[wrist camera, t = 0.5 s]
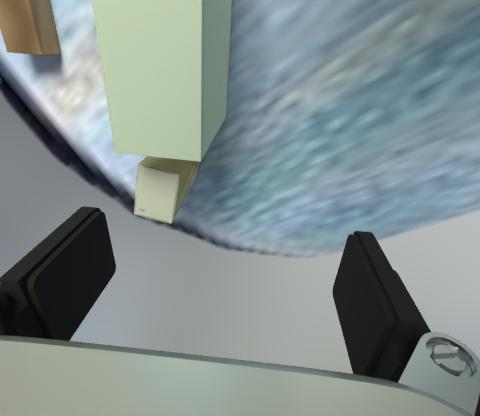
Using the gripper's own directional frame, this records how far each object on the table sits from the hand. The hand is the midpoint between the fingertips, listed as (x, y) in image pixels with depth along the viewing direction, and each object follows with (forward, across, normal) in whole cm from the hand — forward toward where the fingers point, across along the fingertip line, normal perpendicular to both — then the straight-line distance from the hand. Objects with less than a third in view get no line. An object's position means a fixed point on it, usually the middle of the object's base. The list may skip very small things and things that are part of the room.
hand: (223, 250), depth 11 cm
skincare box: (+29, +9, +7) cm, 31 cm away
